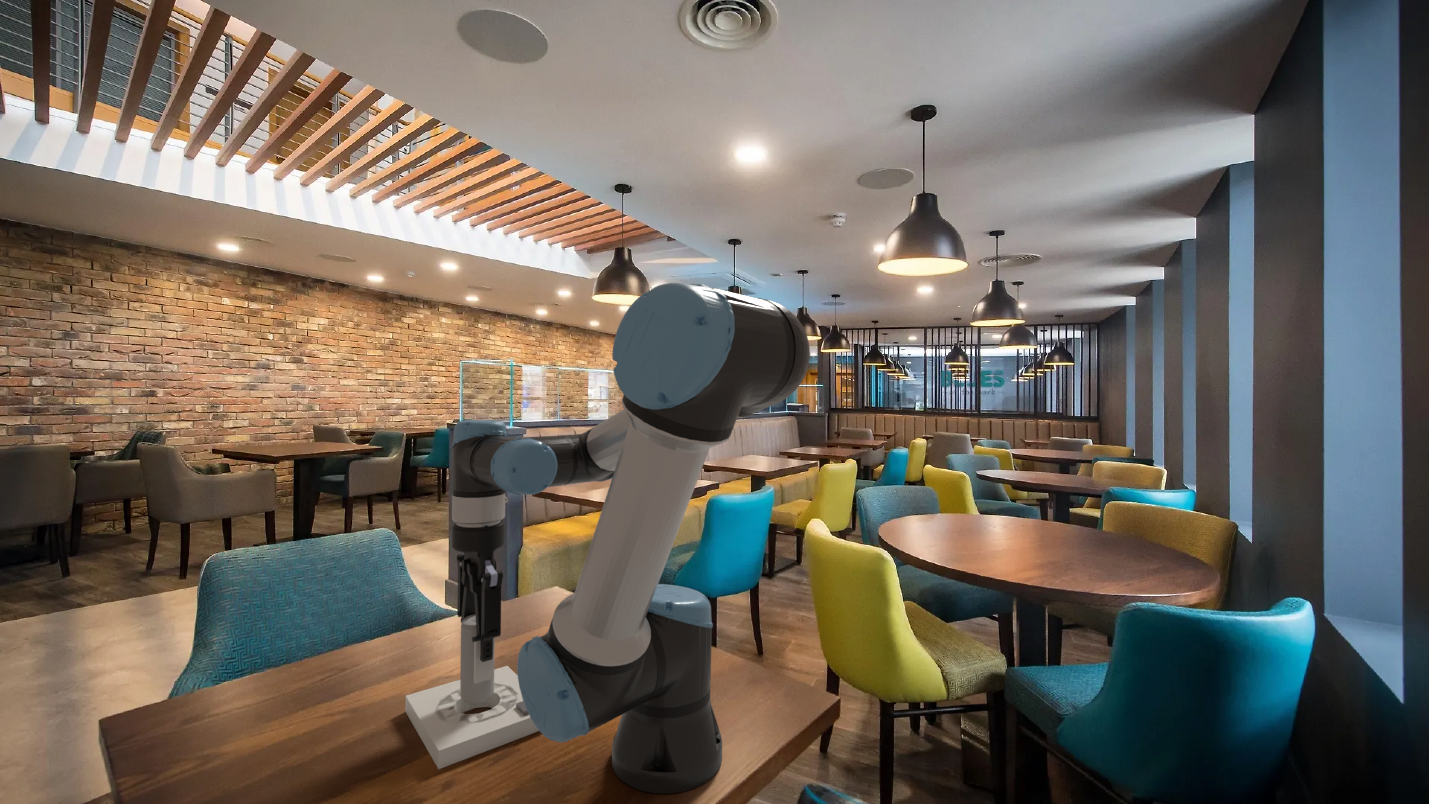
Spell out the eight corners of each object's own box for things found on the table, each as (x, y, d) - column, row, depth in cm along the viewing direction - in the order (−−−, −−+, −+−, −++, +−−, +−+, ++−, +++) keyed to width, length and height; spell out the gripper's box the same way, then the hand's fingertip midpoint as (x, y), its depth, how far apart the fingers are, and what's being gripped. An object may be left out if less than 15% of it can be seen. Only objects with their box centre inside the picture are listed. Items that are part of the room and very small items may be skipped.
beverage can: (482, 707, 86) (483, 626, 86) (453, 703, 87) (454, 623, 87) (500, 690, 91) (501, 614, 91) (472, 687, 92) (473, 611, 92)
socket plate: (552, 725, 87) (552, 705, 87) (438, 769, 77) (438, 746, 77) (507, 679, 101) (507, 662, 101) (405, 711, 91) (405, 691, 91)
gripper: (526, 529, 84) (524, 688, 85) (484, 508, 98) (482, 646, 98) (473, 537, 79) (471, 706, 80) (436, 514, 93) (434, 658, 93)
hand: (477, 672), depth 89 cm, fingers closed on beverage can, 5 cm apart
